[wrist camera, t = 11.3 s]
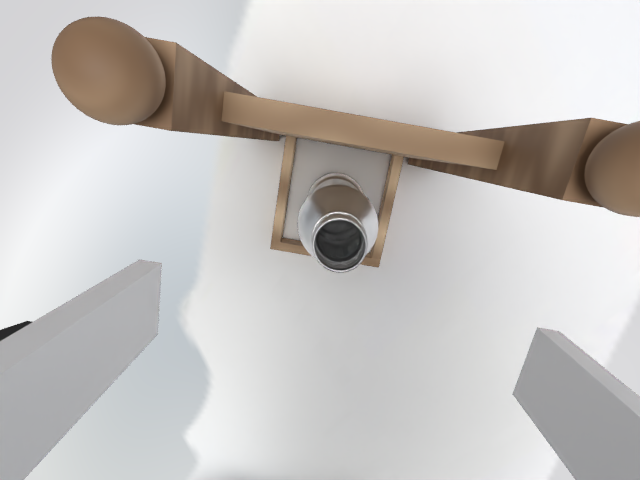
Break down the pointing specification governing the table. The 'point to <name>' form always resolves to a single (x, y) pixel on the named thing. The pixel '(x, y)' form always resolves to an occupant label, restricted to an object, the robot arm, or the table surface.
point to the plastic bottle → (337, 223)
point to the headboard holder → (336, 126)
